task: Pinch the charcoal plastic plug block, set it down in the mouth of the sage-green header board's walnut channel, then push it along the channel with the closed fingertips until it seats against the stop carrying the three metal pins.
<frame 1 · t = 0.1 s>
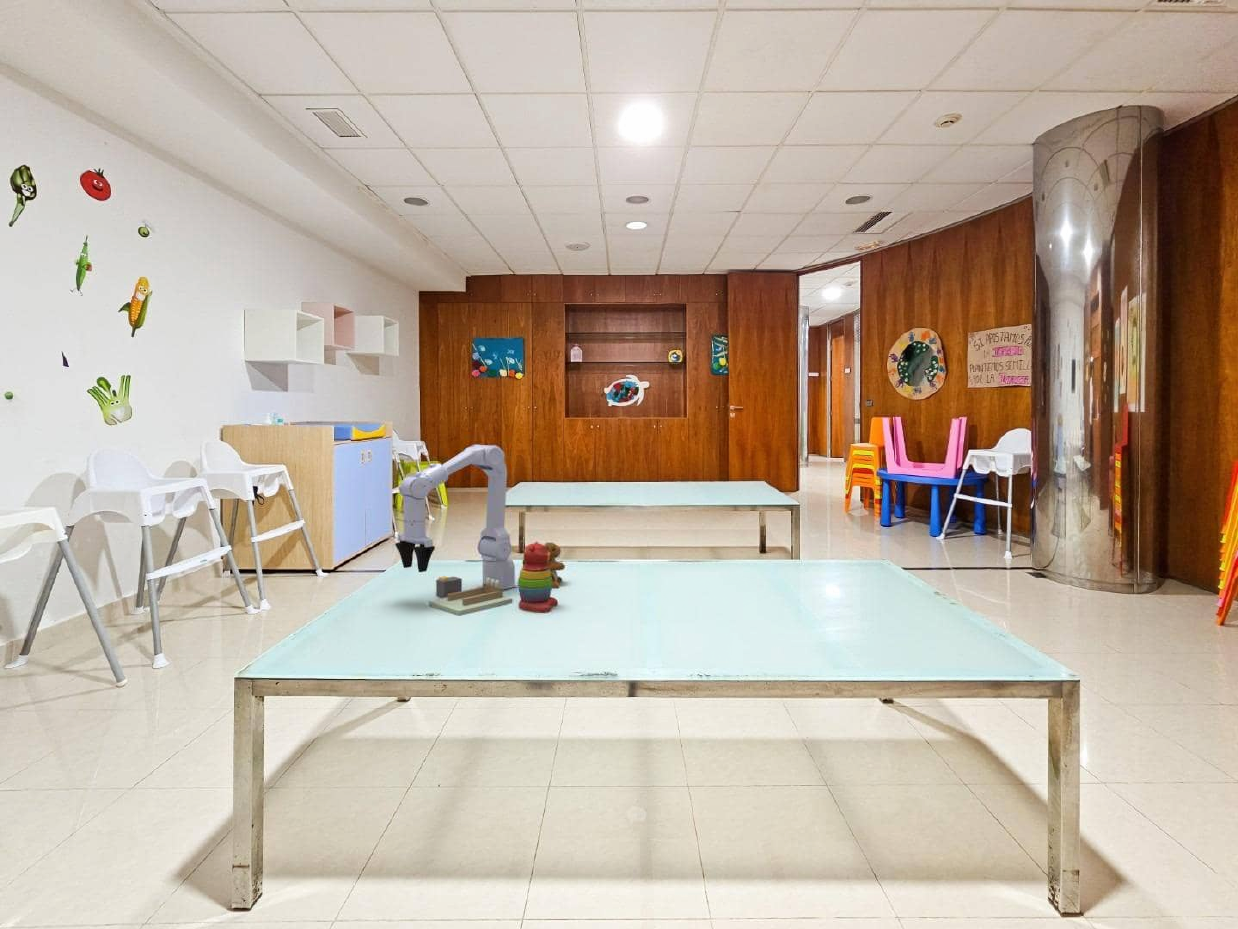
hand: (415, 569, 193), 10 cm above the table, fingers open, 7 cm apart
brown teddy bear: (542, 584, 220), on the table
stacking bear: (536, 607, 193), on the table
plug block: (449, 596, 204), on the table
header board: (471, 604, 195), on the table
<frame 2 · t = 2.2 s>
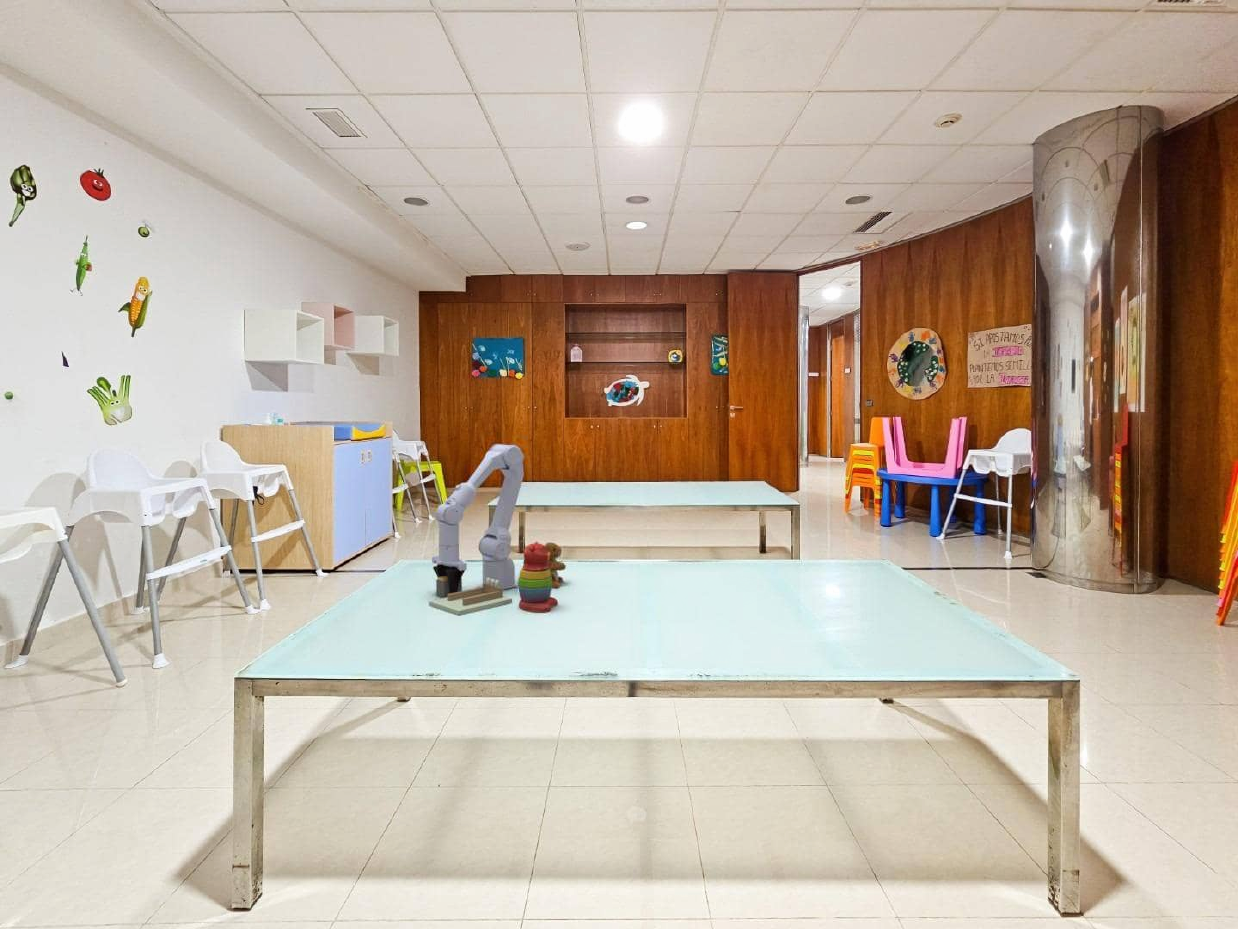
hand: (449, 591, 204), 1 cm above the table, fingers closed on plug block, 4 cm apart
plug block: (449, 595, 204), on the table, touching gripper
everything else where it was.
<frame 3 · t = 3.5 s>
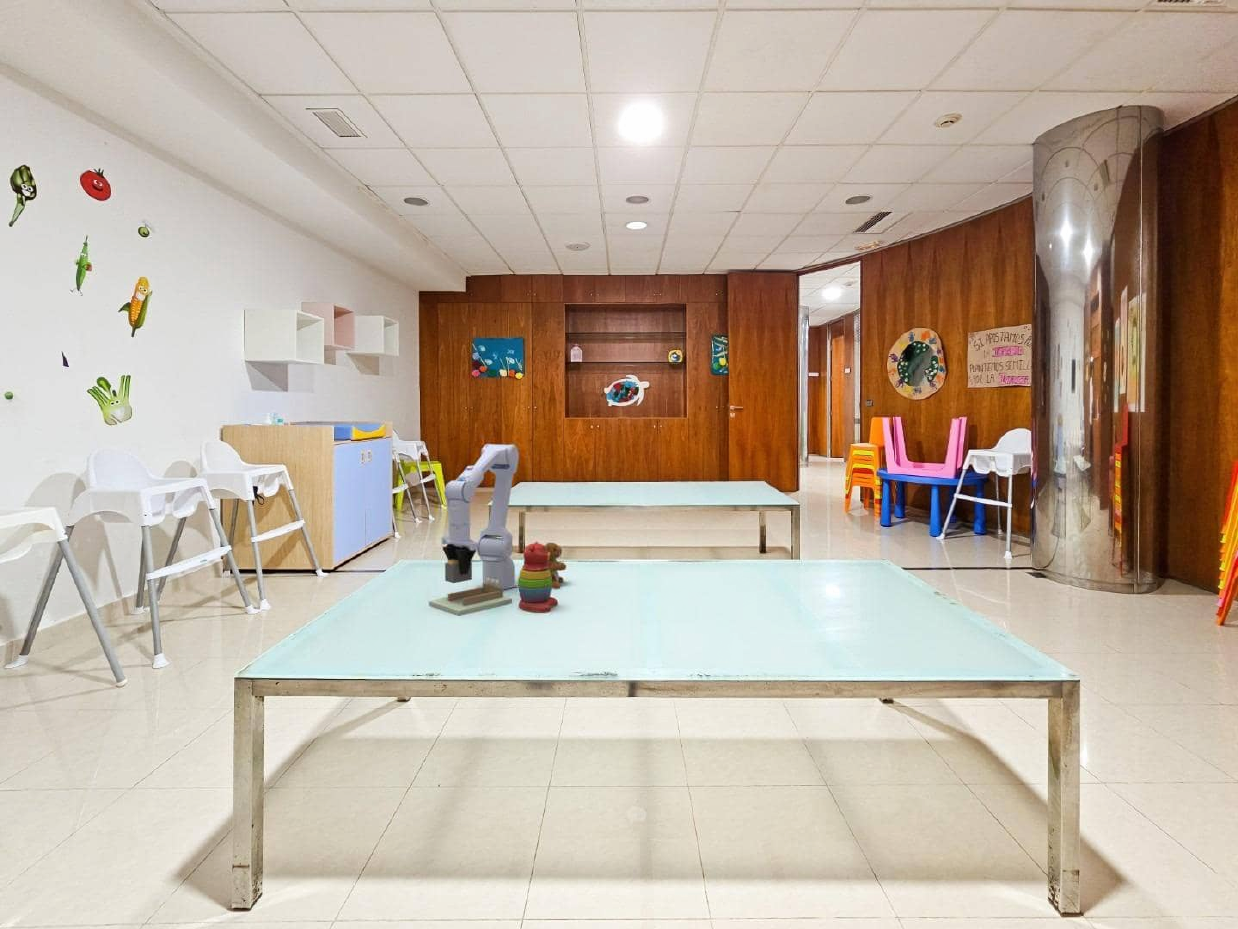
hand: (459, 572, 194), 9 cm above the table, fingers closed on plug block, 4 cm apart
plug block: (458, 580, 194), point 7 cm above the table, touching gripper
everything else where it was.
when the fingers open (3 cm above the table, at t = 4.9 s): plug block stays where it is, resting on header board.
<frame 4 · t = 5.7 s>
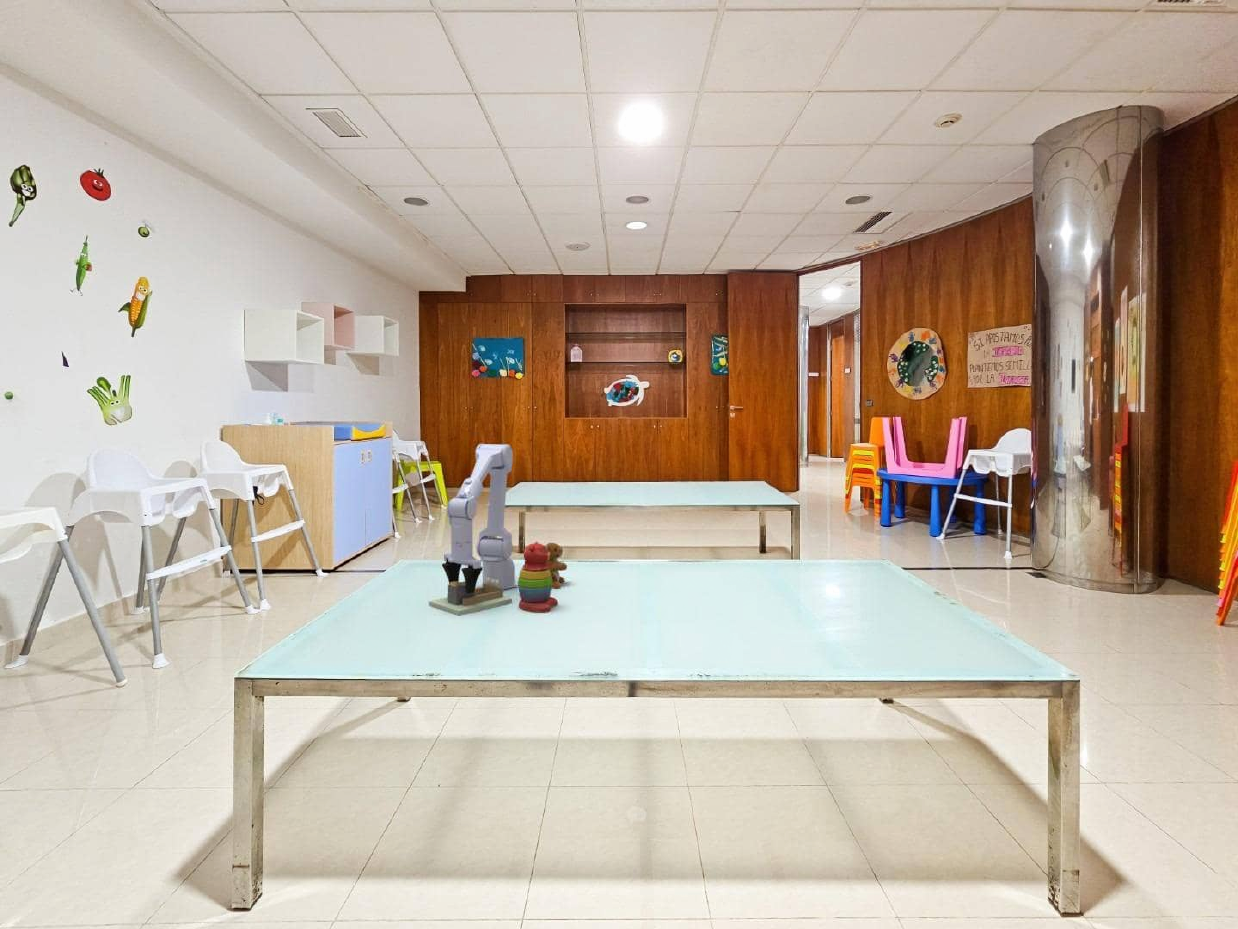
hand: (462, 590, 193), 4 cm above the table, fingers open, 7 cm apart
plug block: (461, 602, 193), point 1 cm above the table, touching header board
everything else where it was.
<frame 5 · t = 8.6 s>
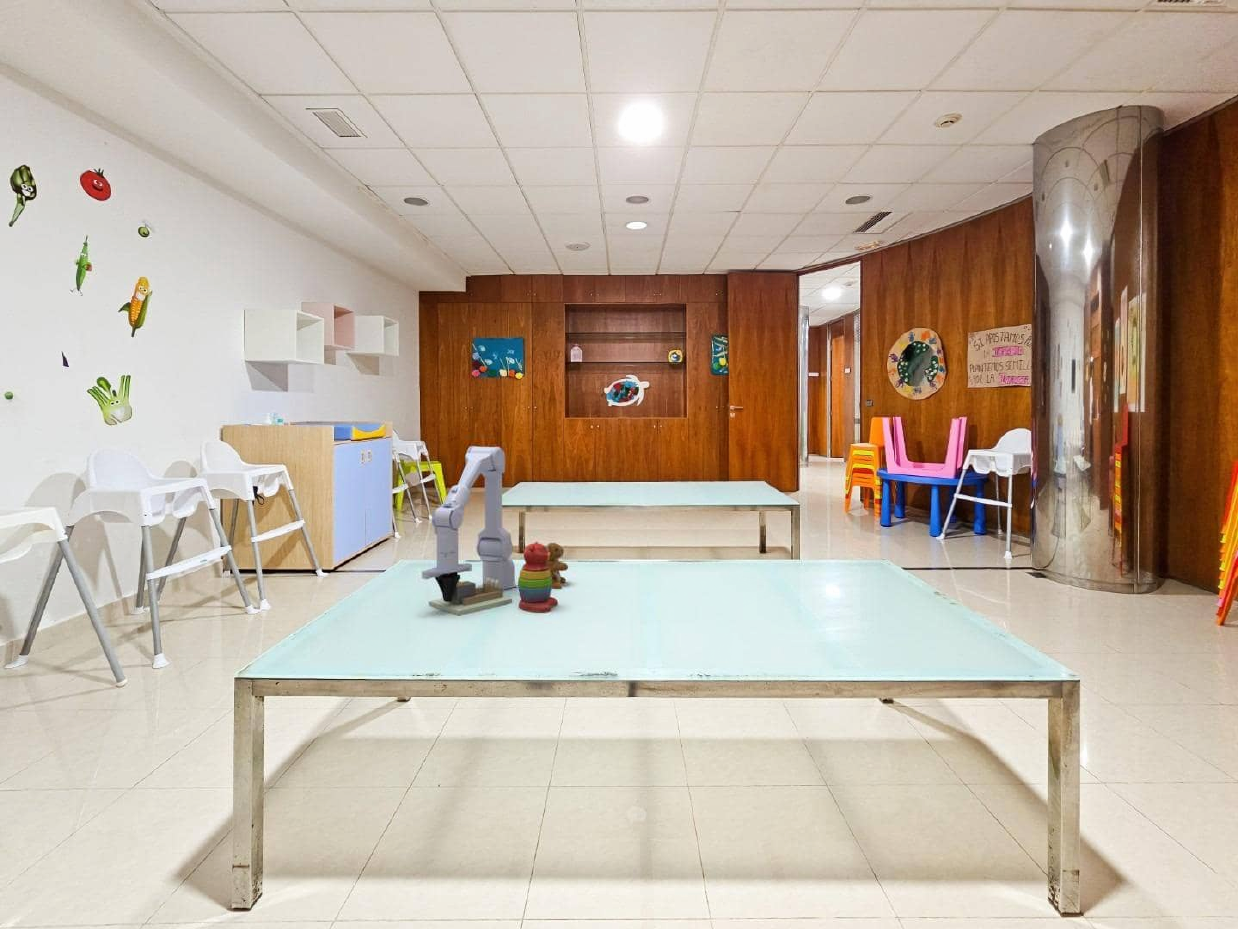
hand: (447, 601, 189), 2 cm above the table, fingers closed
plug block: (462, 601, 193), point 1 cm above the table, touching gripper
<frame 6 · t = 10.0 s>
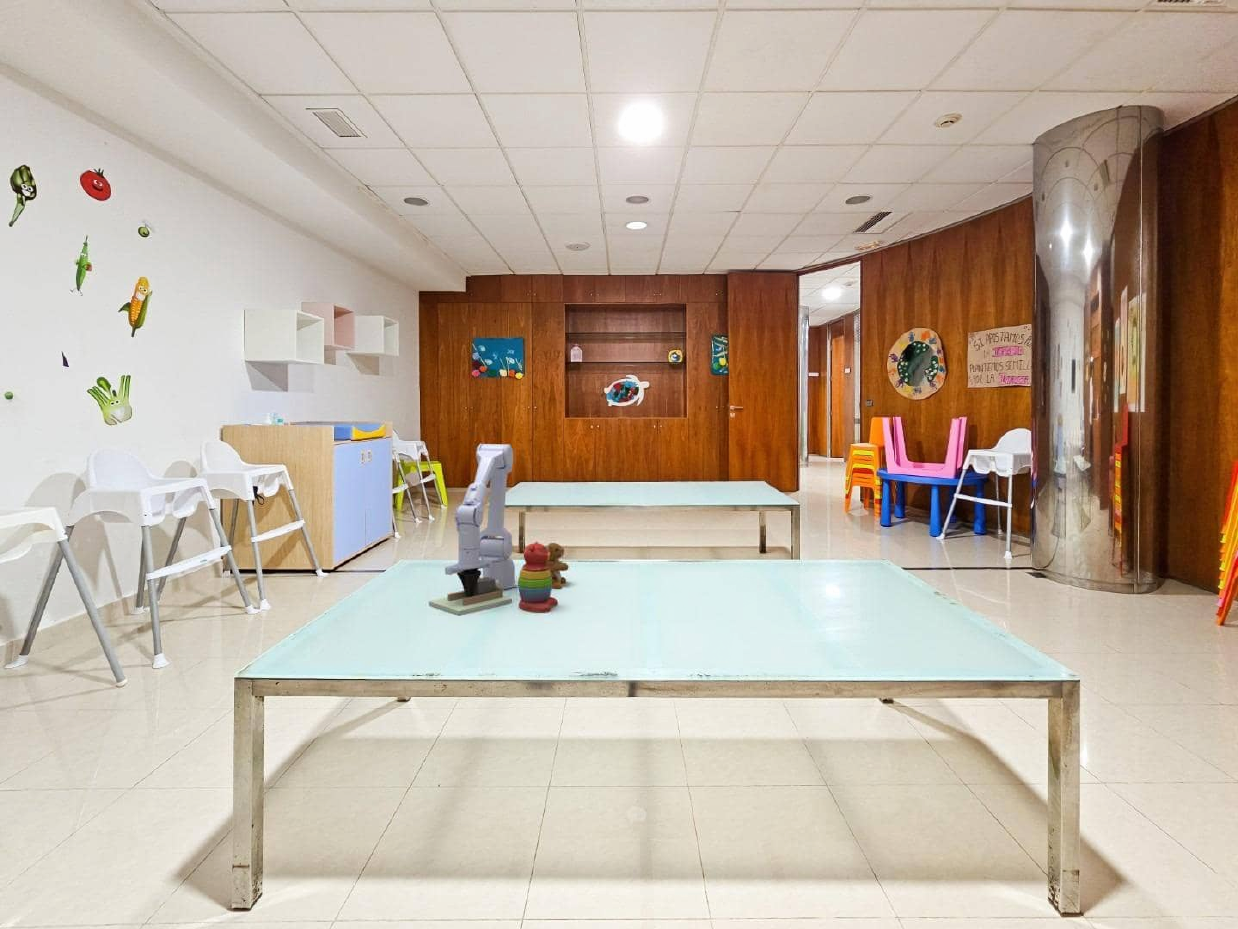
hand: (469, 596, 194), 2 cm above the table, fingers closed
plug block: (482, 597, 198), point 1 cm above the table, touching gripper, header board
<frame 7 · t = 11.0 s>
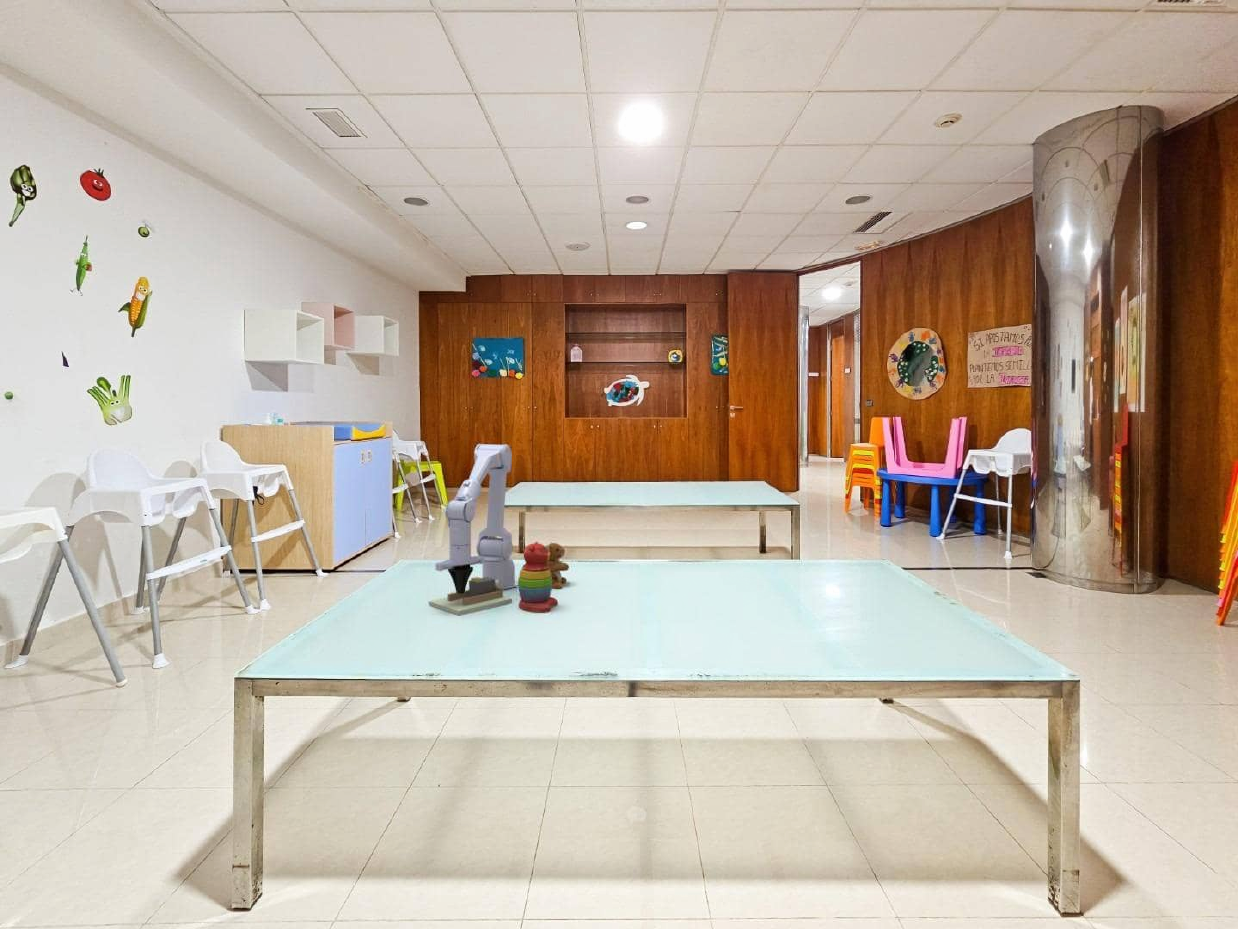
hand: (460, 592, 192), 4 cm above the table, fingers closed
plug block: (482, 597, 198), point 1 cm above the table, touching header board
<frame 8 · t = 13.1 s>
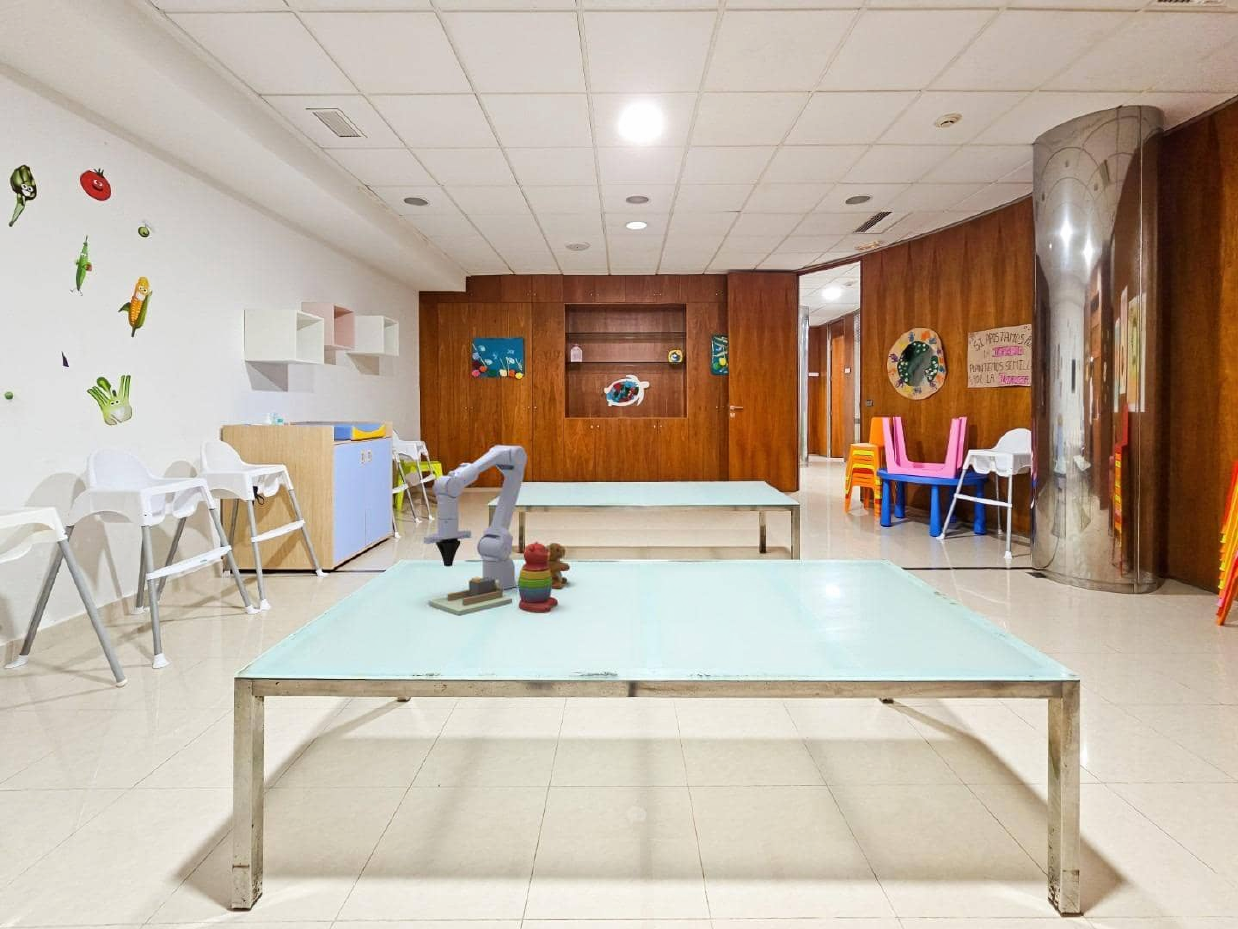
hand: (448, 565, 198), 10 cm above the table, fingers closed
at the end: plug block 0.1 cm from the target spot on the header board, point 1.2 cm above the header board's base; plug block tilted 0°; the gripper is holding nothing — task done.
